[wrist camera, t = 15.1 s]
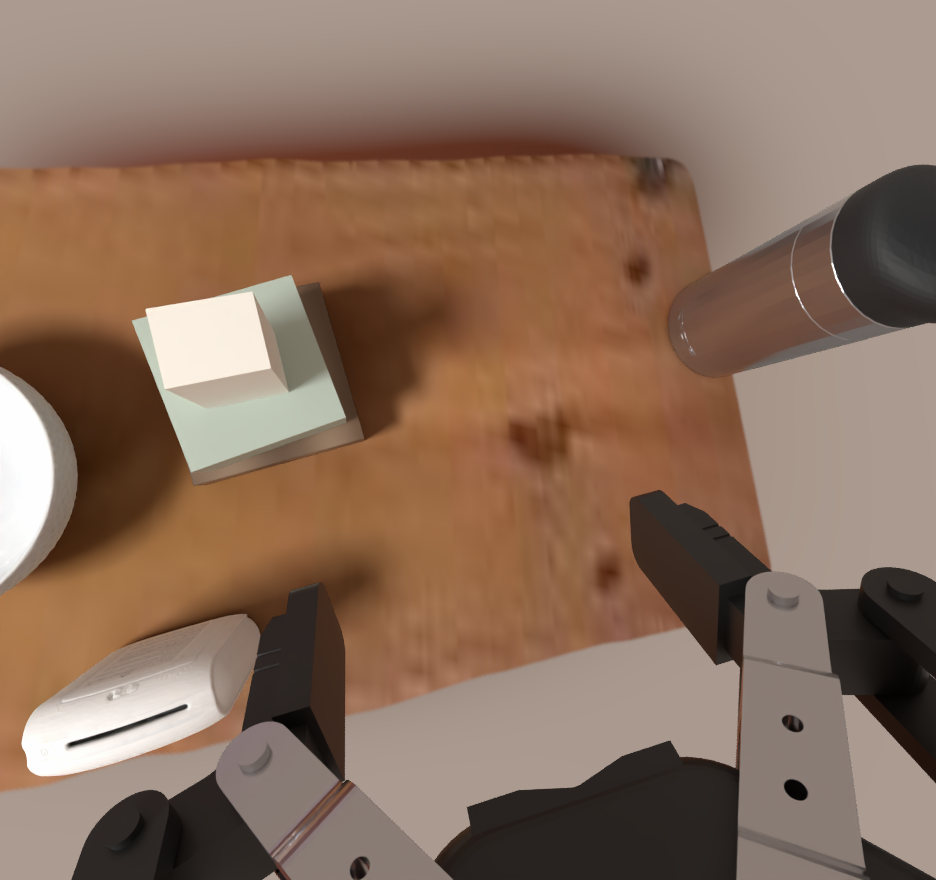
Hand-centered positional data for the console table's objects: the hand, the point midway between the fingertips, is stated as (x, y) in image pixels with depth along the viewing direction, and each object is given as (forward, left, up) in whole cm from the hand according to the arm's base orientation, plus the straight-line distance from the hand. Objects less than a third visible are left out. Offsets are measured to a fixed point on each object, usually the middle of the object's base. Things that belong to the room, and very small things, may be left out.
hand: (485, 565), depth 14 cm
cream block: (+7, -12, -23) cm, 27 cm away
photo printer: (+17, +6, -31) cm, 36 cm away
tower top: (+7, -11, -27) cm, 30 cm away
